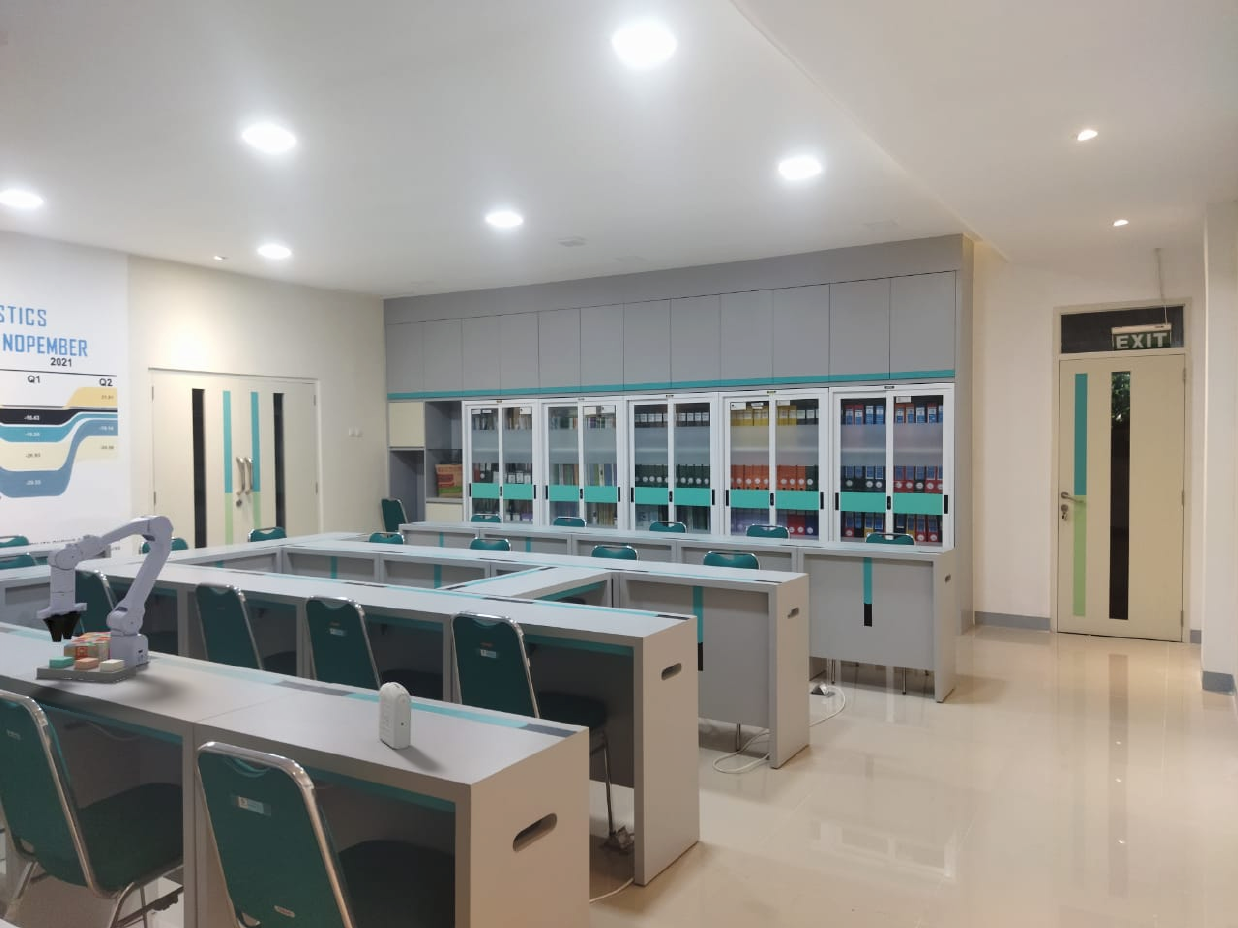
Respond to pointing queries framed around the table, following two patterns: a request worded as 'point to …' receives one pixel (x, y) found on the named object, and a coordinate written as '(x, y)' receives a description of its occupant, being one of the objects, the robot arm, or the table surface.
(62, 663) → the teal button
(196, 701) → the table surface
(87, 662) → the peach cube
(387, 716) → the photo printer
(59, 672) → the button panel
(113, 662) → the cream button
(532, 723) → the table surface
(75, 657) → the stack of blocks
